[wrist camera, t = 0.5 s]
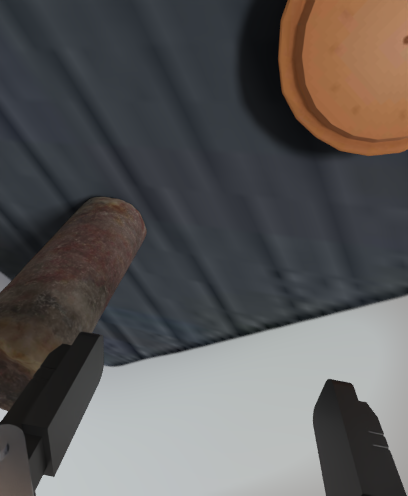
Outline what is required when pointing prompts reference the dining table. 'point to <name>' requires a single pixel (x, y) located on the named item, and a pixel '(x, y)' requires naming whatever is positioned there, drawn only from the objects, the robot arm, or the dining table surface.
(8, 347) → the candle
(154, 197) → the dining table surface
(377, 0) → the pie
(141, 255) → the dining table surface
